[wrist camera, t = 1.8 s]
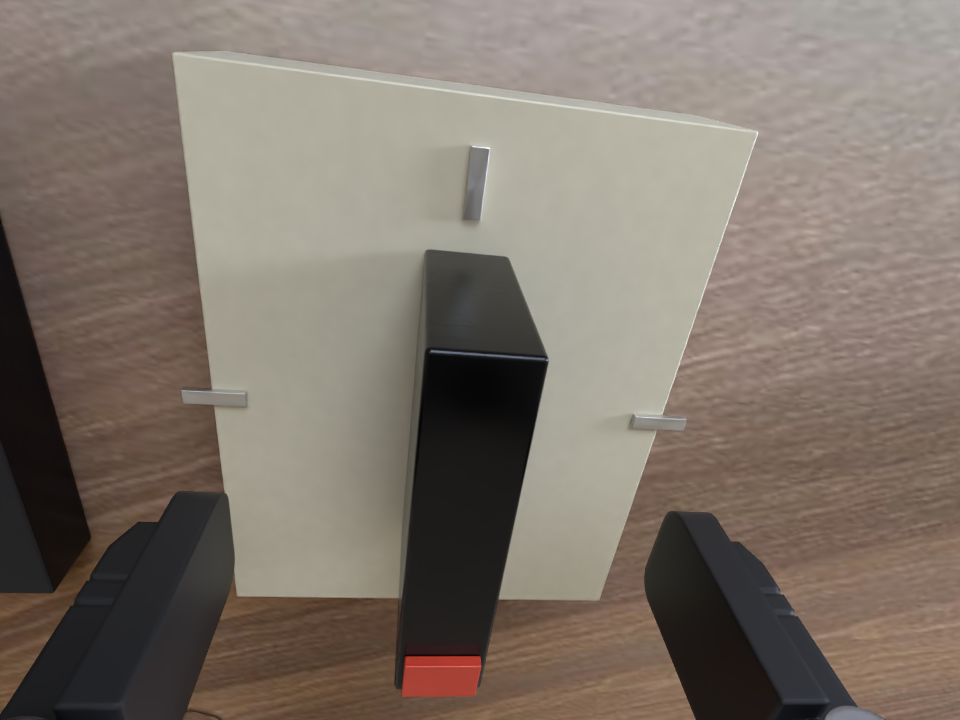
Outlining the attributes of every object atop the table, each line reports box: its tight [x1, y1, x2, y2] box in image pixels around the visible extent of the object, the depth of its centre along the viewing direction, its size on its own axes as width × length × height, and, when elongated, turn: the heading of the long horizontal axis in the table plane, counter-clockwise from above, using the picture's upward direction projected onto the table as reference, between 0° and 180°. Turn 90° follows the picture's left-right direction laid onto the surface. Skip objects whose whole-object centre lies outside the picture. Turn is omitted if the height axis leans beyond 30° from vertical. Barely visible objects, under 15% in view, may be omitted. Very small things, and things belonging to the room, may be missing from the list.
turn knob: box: [394, 249, 549, 697], centre depth 12 cm, size 8×2×5 cm, turn 173°
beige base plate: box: [172, 51, 758, 601], centre depth 15 cm, size 14×12×3 cm
